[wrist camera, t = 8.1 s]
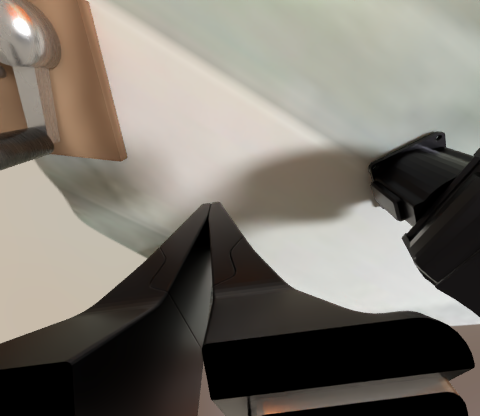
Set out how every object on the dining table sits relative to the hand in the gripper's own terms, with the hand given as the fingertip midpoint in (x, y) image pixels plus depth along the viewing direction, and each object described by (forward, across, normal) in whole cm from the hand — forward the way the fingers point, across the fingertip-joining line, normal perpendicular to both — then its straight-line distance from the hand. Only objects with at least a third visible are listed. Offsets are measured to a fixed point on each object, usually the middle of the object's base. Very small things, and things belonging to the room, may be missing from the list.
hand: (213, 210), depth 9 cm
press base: (+14, +16, -6) cm, 22 cm away
